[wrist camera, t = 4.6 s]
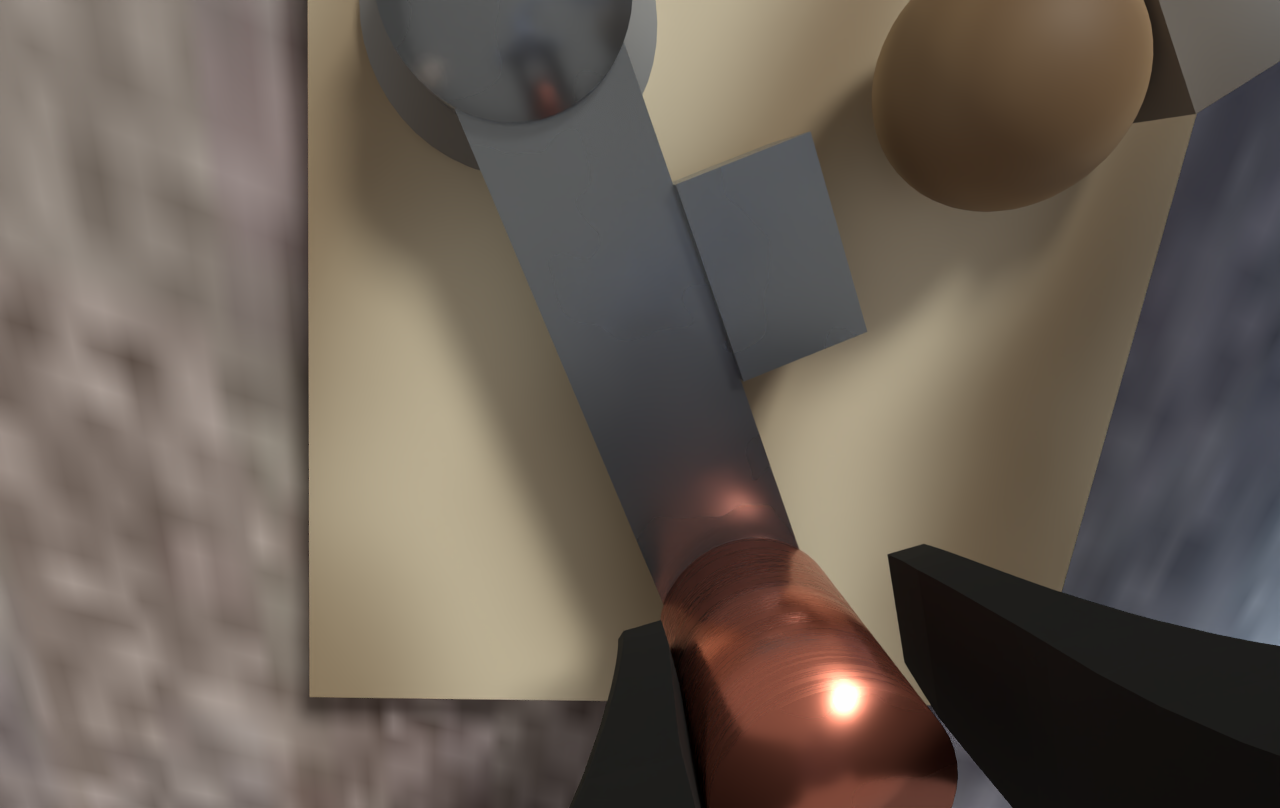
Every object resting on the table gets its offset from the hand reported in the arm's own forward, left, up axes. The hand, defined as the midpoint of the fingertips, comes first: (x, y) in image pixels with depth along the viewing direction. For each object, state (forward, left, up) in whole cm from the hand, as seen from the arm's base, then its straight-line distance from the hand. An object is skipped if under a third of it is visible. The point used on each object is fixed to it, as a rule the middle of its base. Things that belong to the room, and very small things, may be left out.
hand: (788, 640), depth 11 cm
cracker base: (0, -4, -4) cm, 6 cm away
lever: (+2, -5, -2) cm, 6 cm away
